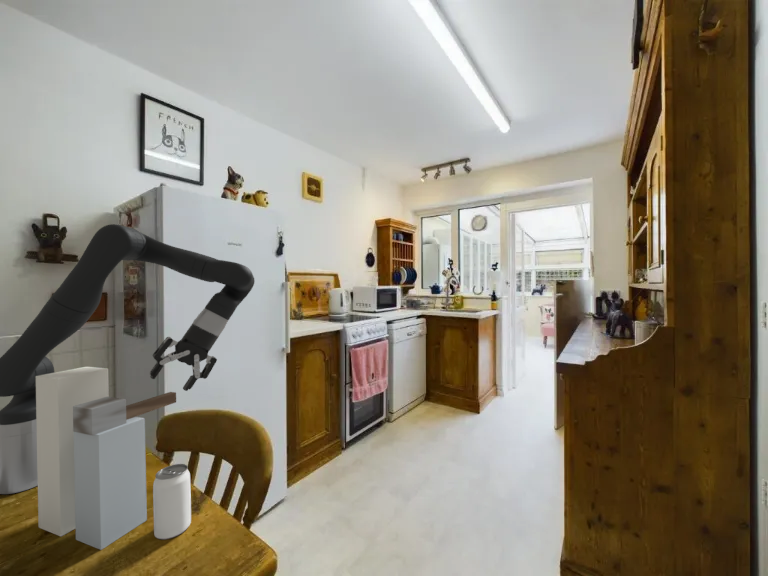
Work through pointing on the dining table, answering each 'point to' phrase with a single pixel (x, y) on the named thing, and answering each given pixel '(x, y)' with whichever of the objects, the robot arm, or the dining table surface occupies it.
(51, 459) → the tall pedestal
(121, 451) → the short pedestal
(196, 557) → the dining table surface
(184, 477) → the can
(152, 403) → the mallet
